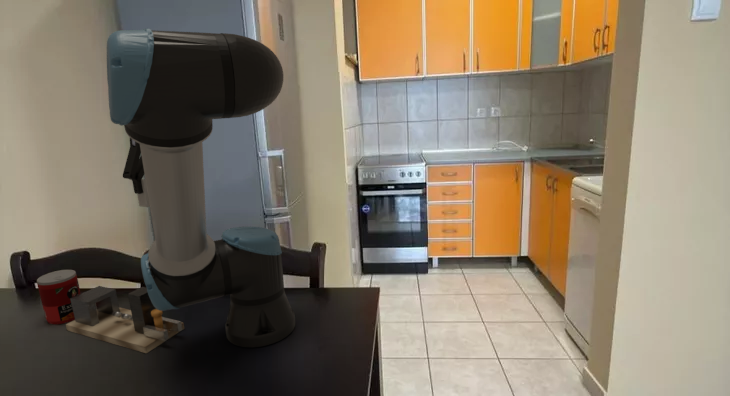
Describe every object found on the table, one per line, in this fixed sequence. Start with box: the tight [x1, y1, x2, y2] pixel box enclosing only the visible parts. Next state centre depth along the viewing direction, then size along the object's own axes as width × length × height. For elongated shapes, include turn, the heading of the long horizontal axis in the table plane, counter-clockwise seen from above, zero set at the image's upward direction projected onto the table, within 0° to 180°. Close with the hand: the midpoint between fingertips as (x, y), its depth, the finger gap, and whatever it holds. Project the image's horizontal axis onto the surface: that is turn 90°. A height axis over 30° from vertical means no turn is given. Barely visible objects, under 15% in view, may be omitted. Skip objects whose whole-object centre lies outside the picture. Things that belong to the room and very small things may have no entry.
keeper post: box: [151, 309, 164, 329], centre depth 88 cm, size 2×2×5 cm
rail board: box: [65, 306, 185, 354], centre depth 93 cm, size 26×10×2 cm, turn 67°
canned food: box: [36, 269, 82, 325], centre depth 99 cm, size 8×8×11 cm
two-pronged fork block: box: [112, 286, 183, 342], centre depth 89 cm, size 19×5×9 cm, turn 67°
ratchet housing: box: [70, 285, 120, 326], centre depth 96 cm, size 6×7×6 cm
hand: (168, 199), depth 102 cm, fingers open, 13 cm apart
